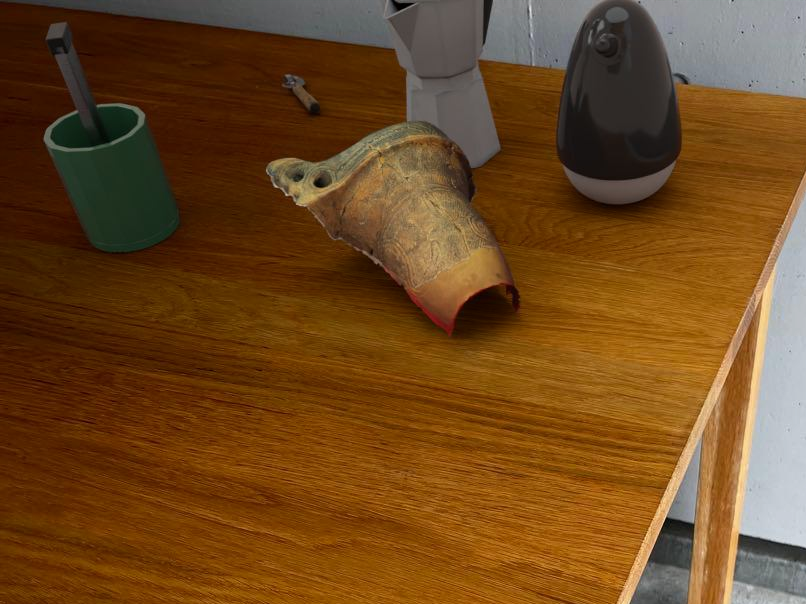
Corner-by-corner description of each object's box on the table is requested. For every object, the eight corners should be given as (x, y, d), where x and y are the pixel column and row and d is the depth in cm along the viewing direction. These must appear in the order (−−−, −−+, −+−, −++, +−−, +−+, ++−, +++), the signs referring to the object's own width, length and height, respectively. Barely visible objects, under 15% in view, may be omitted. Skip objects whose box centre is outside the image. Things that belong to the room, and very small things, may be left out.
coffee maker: (453, 192, 90) (421, -33, 77) (373, 171, 93) (329, -48, 80) (544, 116, 98) (529, -99, 85) (467, 99, 102) (441, -111, 88)
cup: (83, 260, 87) (37, 158, 80) (93, 210, 92) (51, 111, 86) (178, 245, 87) (140, 142, 81) (183, 196, 93) (148, 97, 86)
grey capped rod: (122, 229, 88) (45, 39, 77) (126, 211, 90) (50, 24, 79) (137, 226, 88) (61, 37, 77) (140, 209, 90) (67, 21, 79)
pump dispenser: (544, 216, 86) (530, 26, 75) (575, 154, 93) (567, -30, 82) (667, 227, 84) (672, 33, 73) (690, 162, 91) (697, -26, 79)
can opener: (322, 113, 101) (319, 101, 101) (298, 119, 101) (295, 107, 100) (300, 77, 107) (297, 66, 106) (278, 82, 107) (275, 71, 106)
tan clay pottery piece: (396, 272, 66) (275, 88, 72) (352, 391, 75) (246, 217, 81) (597, 248, 77) (476, 88, 83) (539, 355, 85) (433, 202, 91)
